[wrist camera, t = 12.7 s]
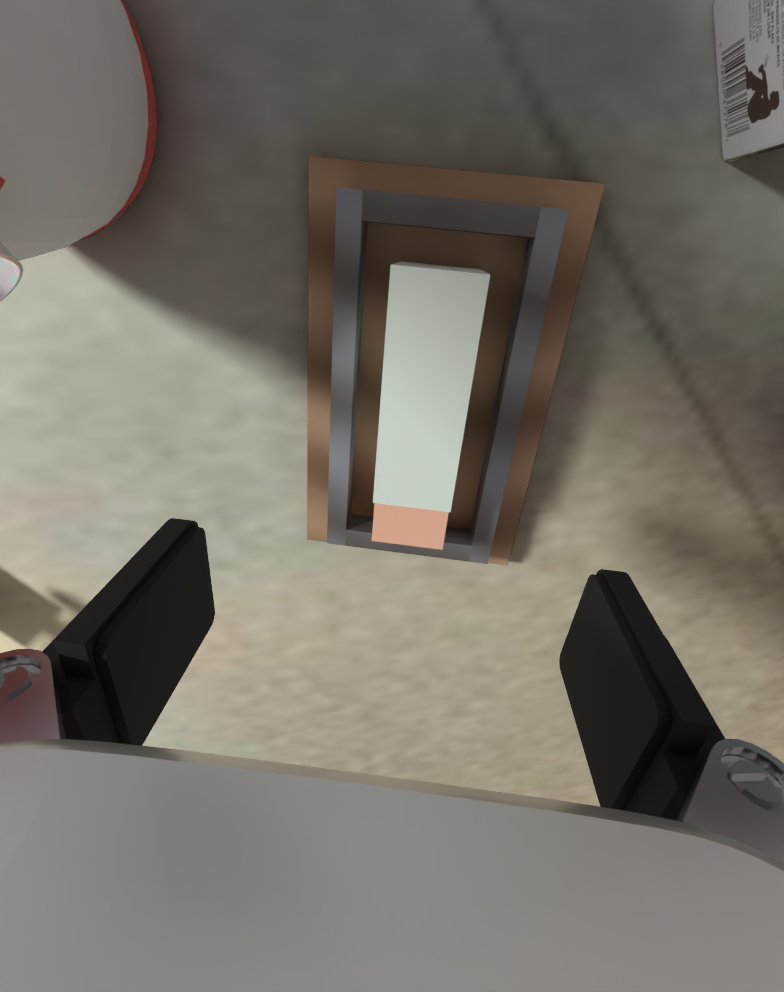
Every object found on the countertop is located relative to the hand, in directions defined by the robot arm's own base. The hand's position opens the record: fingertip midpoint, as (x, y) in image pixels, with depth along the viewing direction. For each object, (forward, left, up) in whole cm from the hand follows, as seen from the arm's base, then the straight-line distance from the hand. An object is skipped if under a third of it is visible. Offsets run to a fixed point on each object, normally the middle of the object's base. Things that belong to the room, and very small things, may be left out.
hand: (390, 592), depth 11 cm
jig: (0, 0, -19) cm, 19 cm away
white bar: (0, 0, -18) cm, 18 cm away
